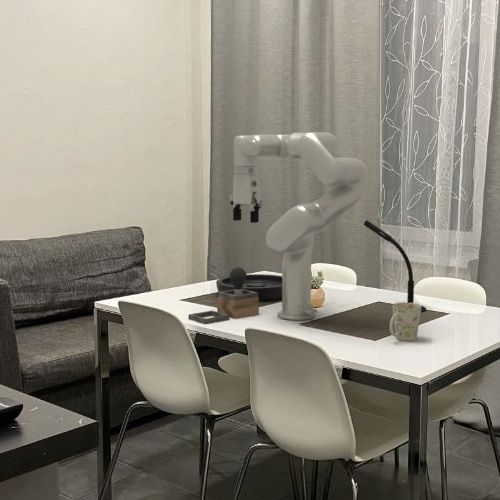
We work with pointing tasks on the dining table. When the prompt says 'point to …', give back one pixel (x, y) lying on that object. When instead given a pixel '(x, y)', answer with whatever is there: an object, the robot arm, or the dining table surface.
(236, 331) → the dining table surface
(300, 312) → the robot arm
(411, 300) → the microphone
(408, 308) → the mug
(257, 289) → the round tray
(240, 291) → the light bulb
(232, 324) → the dining table surface
